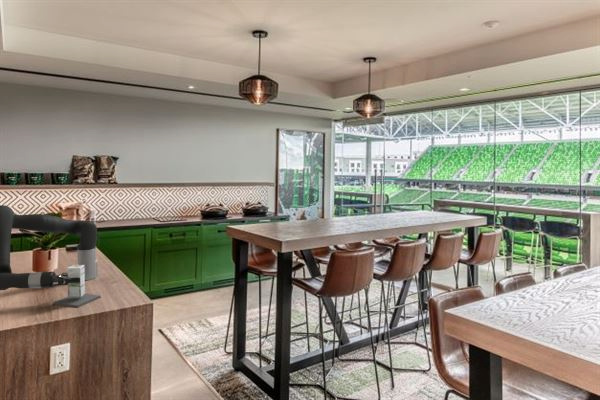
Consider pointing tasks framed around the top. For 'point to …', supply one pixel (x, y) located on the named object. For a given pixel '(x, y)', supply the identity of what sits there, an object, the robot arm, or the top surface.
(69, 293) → the syrup box
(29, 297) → the top surface
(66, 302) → the charcoal mat
